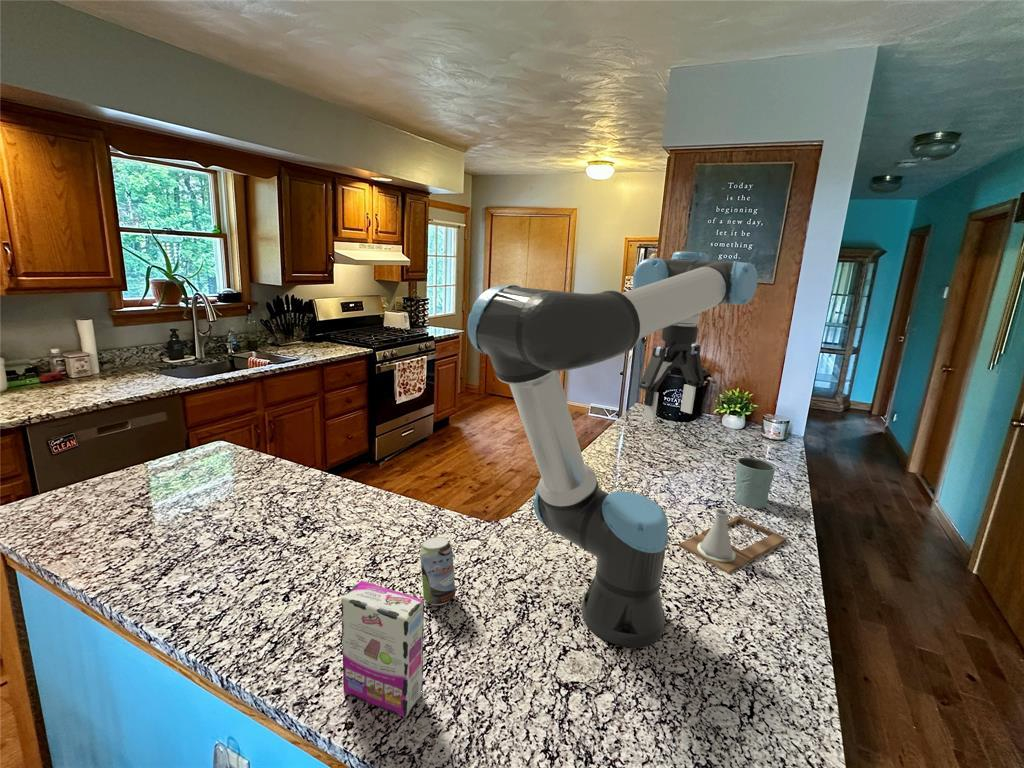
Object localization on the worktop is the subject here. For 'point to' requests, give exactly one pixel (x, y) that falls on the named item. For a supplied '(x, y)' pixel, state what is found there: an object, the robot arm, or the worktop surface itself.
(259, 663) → the worktop surface
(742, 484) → the green cup
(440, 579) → the beverage can
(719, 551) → the flask
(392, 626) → the candy bar box
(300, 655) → the worktop surface
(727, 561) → the board
